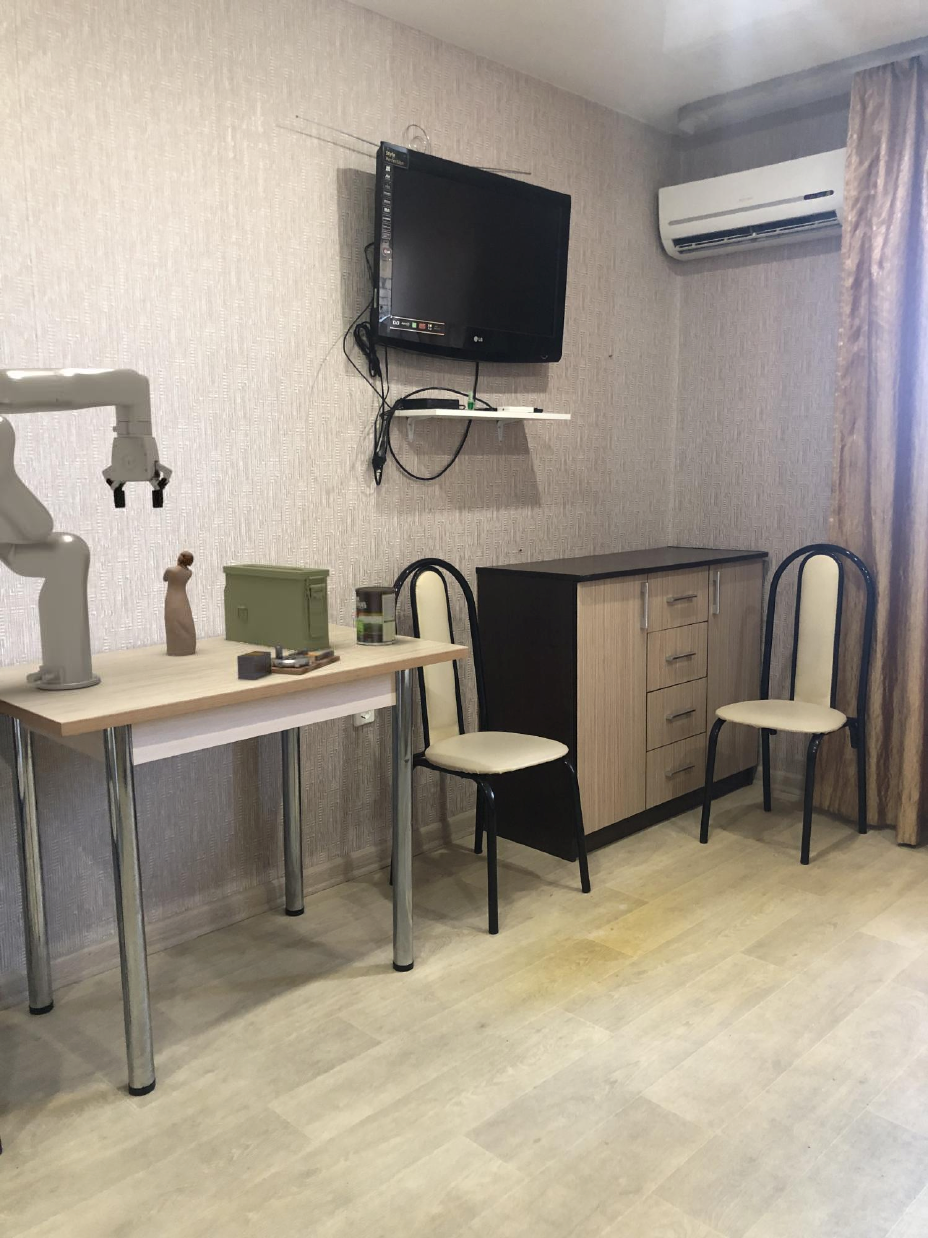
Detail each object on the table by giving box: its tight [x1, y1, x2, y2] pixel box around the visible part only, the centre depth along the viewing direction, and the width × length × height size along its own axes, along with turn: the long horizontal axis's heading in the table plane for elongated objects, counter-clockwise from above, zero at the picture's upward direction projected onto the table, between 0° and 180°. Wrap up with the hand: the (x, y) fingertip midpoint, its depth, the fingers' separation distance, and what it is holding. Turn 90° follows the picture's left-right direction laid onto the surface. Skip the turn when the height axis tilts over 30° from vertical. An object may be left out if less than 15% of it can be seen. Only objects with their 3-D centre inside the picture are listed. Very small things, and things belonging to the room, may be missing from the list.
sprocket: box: [271, 646, 313, 667], centre depth 220 cm, size 10×10×4 cm
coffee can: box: [354, 586, 397, 646], centre depth 255 cm, size 10×10×14 cm
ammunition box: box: [222, 563, 331, 653], centre depth 254 cm, size 10×33×20 cm, turn 50°
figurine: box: [162, 550, 197, 657], centre depth 241 cm, size 8×8×25 cm
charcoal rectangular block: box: [236, 650, 273, 681], centre depth 213 cm, size 7×4×5 cm, turn 160°
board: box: [271, 649, 341, 676], centre depth 225 cm, size 19×11×2 cm, turn 160°
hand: (139, 507), depth 223 cm, fingers open, 9 cm apart
